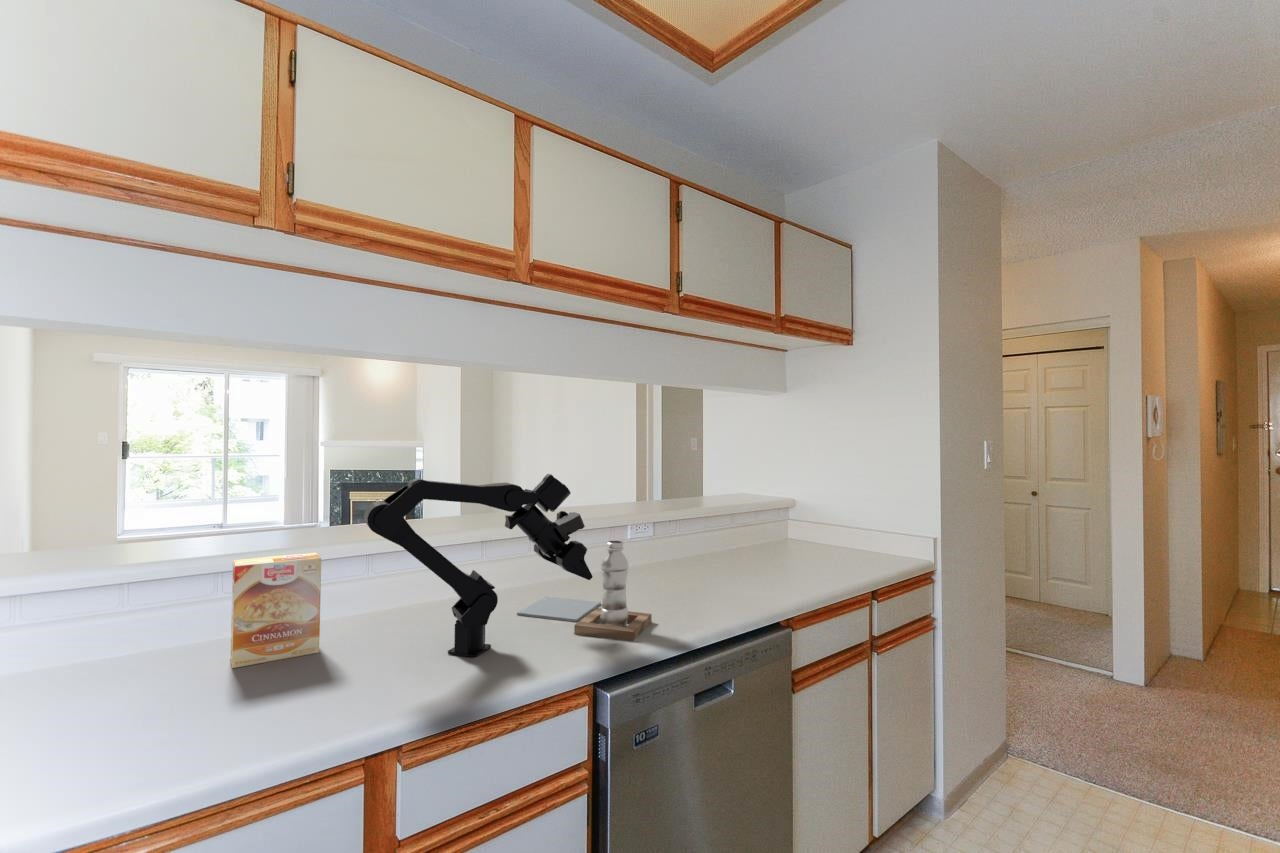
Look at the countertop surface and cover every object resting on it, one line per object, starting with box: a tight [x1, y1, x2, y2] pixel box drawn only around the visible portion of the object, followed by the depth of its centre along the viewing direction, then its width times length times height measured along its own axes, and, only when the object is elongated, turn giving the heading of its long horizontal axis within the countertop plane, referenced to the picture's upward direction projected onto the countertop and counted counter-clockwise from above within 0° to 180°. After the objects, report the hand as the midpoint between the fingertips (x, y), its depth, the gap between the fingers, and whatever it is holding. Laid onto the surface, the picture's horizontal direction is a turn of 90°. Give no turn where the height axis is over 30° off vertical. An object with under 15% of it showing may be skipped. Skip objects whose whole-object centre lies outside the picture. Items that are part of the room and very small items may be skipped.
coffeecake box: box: [230, 551, 322, 669], centre depth 121 cm, size 15×7×20 cm, turn 126°
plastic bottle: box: [600, 540, 629, 627], centre depth 141 cm, size 6×7×20 cm
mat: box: [516, 596, 602, 623], centre depth 155 cm, size 16×16×1 cm
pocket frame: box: [573, 607, 653, 642], centre depth 141 cm, size 14×14×2 cm
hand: (582, 574), depth 137 cm, fingers open, 9 cm apart
